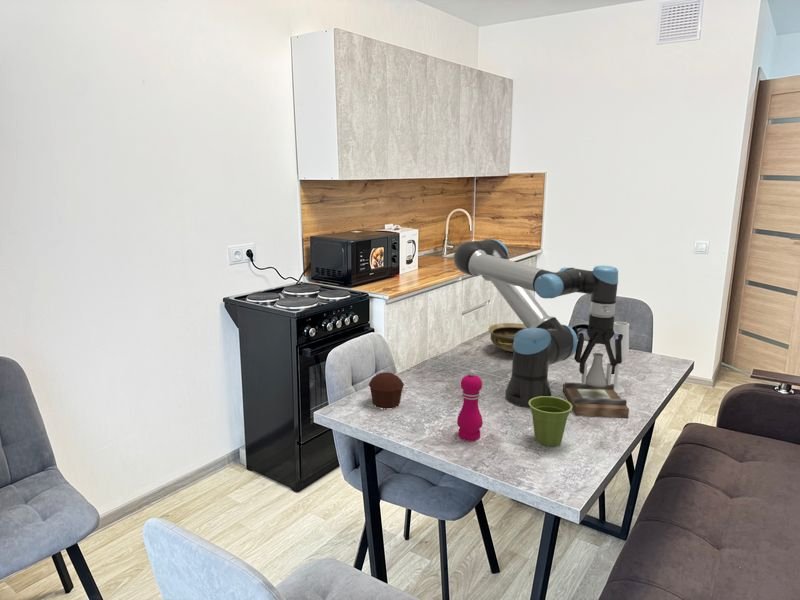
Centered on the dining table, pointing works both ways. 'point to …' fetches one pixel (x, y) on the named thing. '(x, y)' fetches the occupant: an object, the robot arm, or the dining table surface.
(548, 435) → the plant pot
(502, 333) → the ceramic bowl
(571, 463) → the dining table surface
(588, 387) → the dock
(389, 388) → the muffin
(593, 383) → the flask
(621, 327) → the champagne flute
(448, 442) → the dining table surface
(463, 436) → the pepper mill
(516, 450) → the dining table surface
